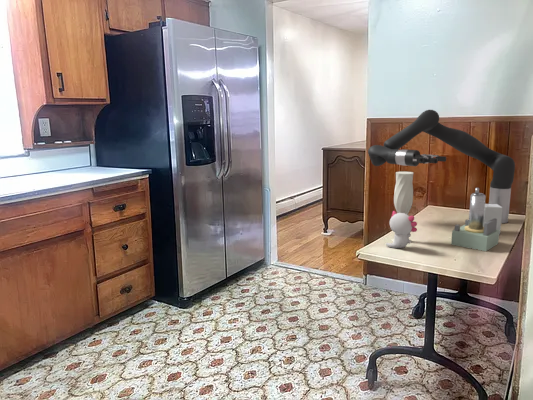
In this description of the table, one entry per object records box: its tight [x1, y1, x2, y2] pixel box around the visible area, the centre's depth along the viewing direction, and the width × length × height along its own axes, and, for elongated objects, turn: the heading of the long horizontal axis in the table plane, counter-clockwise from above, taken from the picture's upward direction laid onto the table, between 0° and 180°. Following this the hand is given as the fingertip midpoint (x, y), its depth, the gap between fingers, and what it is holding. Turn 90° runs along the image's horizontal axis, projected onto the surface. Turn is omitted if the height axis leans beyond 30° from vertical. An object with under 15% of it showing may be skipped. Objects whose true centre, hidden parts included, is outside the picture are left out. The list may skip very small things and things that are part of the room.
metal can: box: [468, 187, 486, 230], centre depth 184 cm, size 6×6×17 cm
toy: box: [384, 210, 418, 249], centre depth 181 cm, size 14×8×15 cm, turn 29°
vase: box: [390, 171, 414, 243], centre depth 190 cm, size 9×8×30 cm
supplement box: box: [483, 203, 502, 235], centre depth 203 cm, size 7×7×13 cm
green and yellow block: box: [450, 218, 500, 252], centre depth 186 cm, size 14×14×11 cm
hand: (441, 160), depth 195 cm, fingers open, 8 cm apart
